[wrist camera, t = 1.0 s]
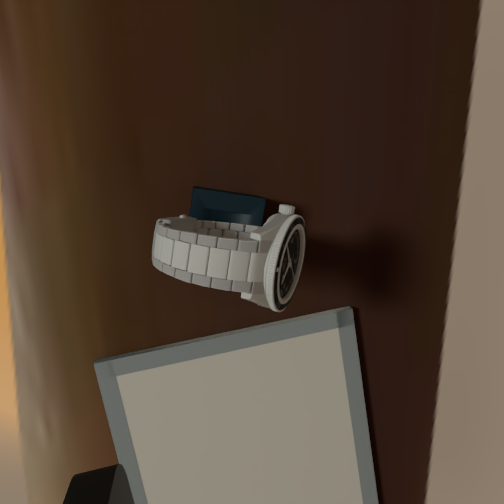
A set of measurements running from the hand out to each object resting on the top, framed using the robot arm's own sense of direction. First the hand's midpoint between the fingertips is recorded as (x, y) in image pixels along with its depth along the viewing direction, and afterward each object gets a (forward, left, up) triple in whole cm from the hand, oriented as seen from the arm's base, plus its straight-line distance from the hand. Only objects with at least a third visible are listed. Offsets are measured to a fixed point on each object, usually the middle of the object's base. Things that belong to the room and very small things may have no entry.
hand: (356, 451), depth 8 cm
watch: (-1, -1, -24) cm, 24 cm away
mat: (+15, -2, -24) cm, 28 cm away
